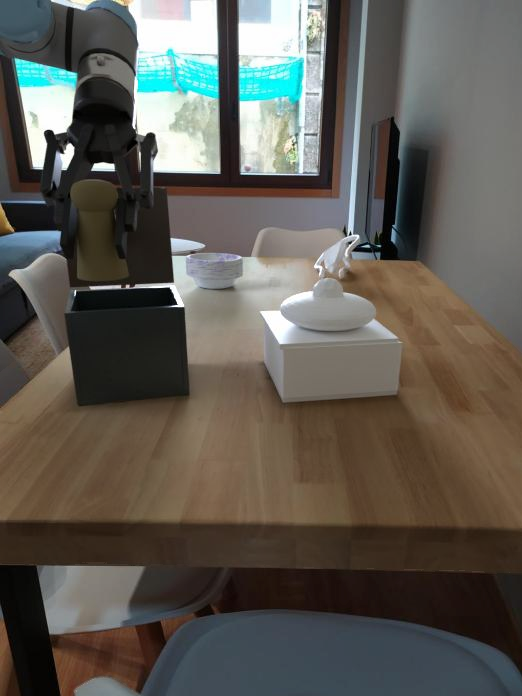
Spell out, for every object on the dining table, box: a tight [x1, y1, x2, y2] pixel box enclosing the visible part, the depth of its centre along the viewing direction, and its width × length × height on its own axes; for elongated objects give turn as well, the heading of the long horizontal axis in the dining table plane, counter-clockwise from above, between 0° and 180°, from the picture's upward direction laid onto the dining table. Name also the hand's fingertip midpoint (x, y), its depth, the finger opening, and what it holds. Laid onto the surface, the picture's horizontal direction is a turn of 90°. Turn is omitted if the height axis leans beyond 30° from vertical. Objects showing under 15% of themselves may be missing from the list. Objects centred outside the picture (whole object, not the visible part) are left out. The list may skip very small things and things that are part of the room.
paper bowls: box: [185, 252, 244, 290], centre depth 146 cm, size 15×15×8 cm
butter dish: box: [259, 277, 403, 404], centre depth 84 cm, size 18×18×16 cm
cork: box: [70, 179, 129, 281], centre depth 64 cm, size 6×6×11 cm
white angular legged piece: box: [314, 234, 361, 280], centre depth 163 cm, size 17×9×22 cm
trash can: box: [63, 285, 190, 406], centre depth 81 cm, size 14×16×13 cm
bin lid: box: [65, 186, 175, 288], centre depth 83 cm, size 14×16×1 cm
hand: (93, 251), depth 62 cm, fingers closed on cork, 5 cm apart
